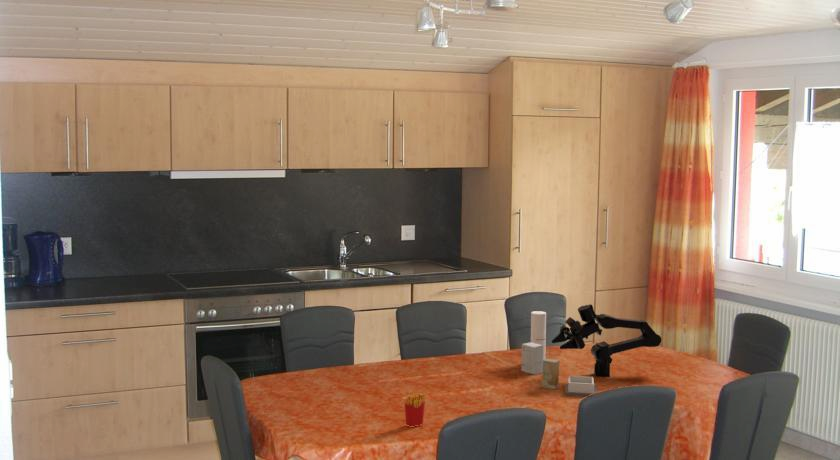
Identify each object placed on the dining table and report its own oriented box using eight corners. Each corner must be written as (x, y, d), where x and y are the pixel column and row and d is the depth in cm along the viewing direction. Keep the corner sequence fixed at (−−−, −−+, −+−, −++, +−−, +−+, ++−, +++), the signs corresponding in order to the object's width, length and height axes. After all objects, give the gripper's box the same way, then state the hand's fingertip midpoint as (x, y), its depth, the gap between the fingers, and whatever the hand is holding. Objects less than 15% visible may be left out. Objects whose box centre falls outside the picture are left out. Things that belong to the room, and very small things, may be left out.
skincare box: (541, 387, 357) (542, 360, 355) (544, 384, 361) (545, 357, 359) (555, 389, 354) (556, 362, 352) (559, 387, 358) (559, 359, 356)
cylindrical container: (544, 366, 390) (545, 314, 387) (529, 365, 391) (530, 313, 388) (545, 362, 396) (546, 311, 394) (530, 361, 398) (531, 310, 395)
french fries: (408, 428, 306) (409, 397, 305) (403, 425, 310) (403, 395, 308) (427, 424, 311) (427, 393, 310) (421, 421, 315) (421, 390, 313)
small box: (543, 372, 379) (543, 345, 378) (533, 375, 375) (534, 347, 374) (530, 368, 386) (530, 341, 384) (520, 371, 382) (521, 343, 380)
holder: (595, 387, 357) (596, 376, 357) (596, 396, 344) (597, 385, 344) (565, 385, 360) (565, 374, 359) (565, 394, 347) (565, 383, 346)
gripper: (571, 309, 380) (542, 324, 377) (589, 319, 362) (558, 335, 359) (579, 330, 382) (550, 345, 380) (597, 341, 364) (566, 357, 362)
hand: (555, 345), depth 370 cm, fingers open, 9 cm apart
